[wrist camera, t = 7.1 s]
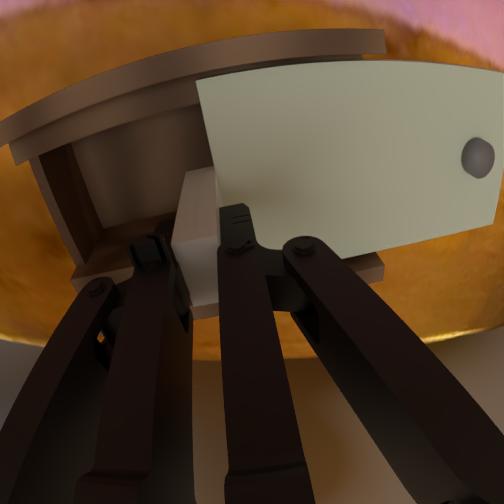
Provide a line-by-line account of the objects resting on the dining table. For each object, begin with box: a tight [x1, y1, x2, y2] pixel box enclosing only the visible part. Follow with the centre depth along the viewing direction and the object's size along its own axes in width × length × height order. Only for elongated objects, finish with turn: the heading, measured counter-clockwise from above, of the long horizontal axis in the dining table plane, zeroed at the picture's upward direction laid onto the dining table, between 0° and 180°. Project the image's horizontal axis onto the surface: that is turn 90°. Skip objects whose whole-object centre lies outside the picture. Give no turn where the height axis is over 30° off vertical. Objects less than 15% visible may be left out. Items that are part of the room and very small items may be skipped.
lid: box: [196, 59, 504, 259], centre depth 16 cm, size 19×11×3 cm, turn 99°
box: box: [0, 29, 387, 334], centre depth 19 cm, size 20×14×10 cm
